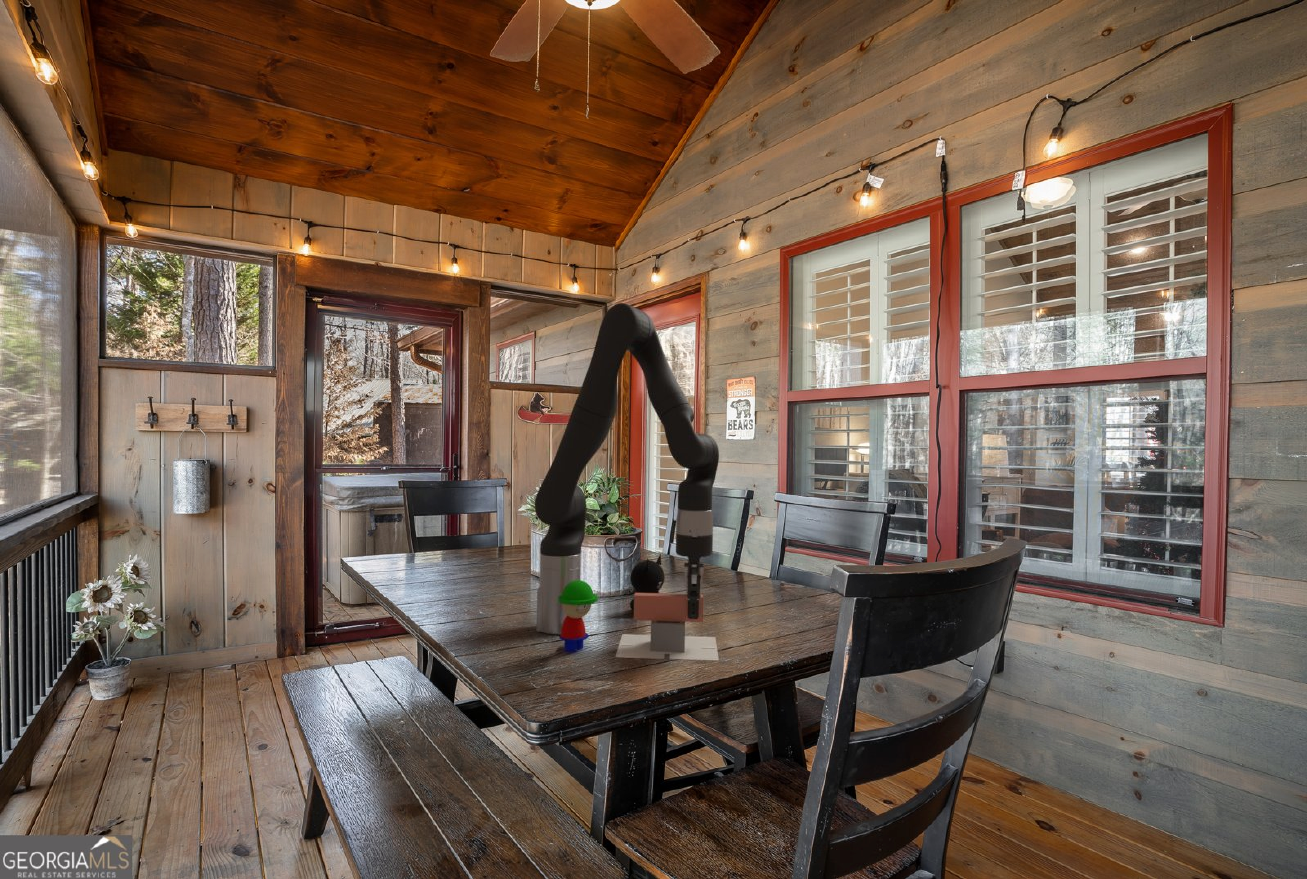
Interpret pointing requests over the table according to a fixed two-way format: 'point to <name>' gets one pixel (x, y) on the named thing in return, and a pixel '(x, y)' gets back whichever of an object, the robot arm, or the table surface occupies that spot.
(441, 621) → the table surface
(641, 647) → the lock board
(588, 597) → the toy
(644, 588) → the figurine
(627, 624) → the table surface
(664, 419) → the robot arm
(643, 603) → the red bar with frame
